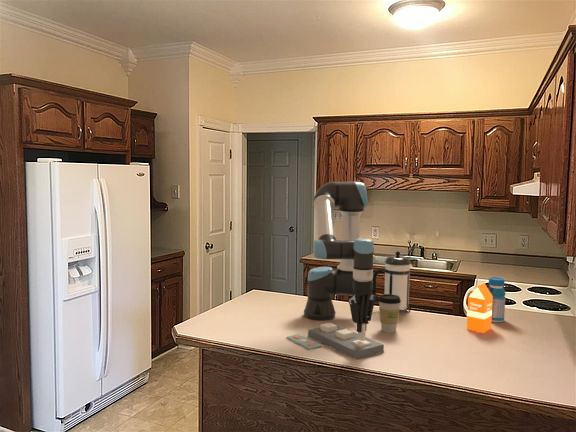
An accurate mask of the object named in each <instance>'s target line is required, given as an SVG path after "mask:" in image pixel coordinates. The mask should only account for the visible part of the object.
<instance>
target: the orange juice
mask: <svg viewBox="0 0 576 432" xmlns="http://www.w3.org/2000/svg"><path fill="white" fill-rule="evenodd" d="M488 288H489V287H487V285H486V283H485V282H484V283H481V284H480V285H476V287H475V289H474V290H472V292H471V293H470V295H469V296H468V297H467V309H466V310H467V311H466V330H469V331H473V332H478V333H482V334H484V333H486V332H487V331H489V330H491V329H492V321H491V318H492V297H493V296H492V295H491V293H490V291H489V290H488Z"/></svg>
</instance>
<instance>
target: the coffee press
mask: <svg viewBox="0 0 576 432" xmlns="http://www.w3.org/2000/svg"><path fill="white" fill-rule="evenodd" d="M394 253H395V255H390V256H387V257H386V258H385V260H384V266H385V267H384V268H379V269H377V270H375V271H373V279H372V281H373V289H372V290H371V292H372V295H374V296H376V297H377V298H376V300H375V301H378V299H379V297H380V296H377V276H378V275H379V274H381V273H384V294H392V295H397V296H399V297H400V300H401V302H400V305H399V311H402V310H404V311H405V312H406V313H407V314H409V313H410V312H411V309H410V307H409V303H410V300H409V298H410V275H411V268H413V264H412V263H411V261H410V260H411V259H409V258H408V256H403V255H401V252H400V251H396V252H394Z"/></svg>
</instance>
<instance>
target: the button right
mask: <svg viewBox="0 0 576 432" xmlns="http://www.w3.org/2000/svg"><path fill="white" fill-rule="evenodd" d="M352 344H354V345H356V346H358V347H360V348H362V347H366V346H370V345H371V343H370V342H368V341H361V340H355V341H352Z"/></svg>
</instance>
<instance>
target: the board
mask: <svg viewBox="0 0 576 432" xmlns="http://www.w3.org/2000/svg"><path fill="white" fill-rule="evenodd" d="M333 324H334V325H337V331H338V330H343V329H346V330H349V331H351V332H353V338H350V339H346V340H342V339H340V338H338V337H336V331H334V332H330V333H327V332H325V331H322V330H320V327H321V326H318V327H312V328H309V329H308V330H307V331H308V332H307V336H308V337H309V338H310V339H313V340H316V341H317V342H319V343H321V344H323V345H325V346H328V347H329V348H331V349H334V350H336V351H338V352H340V353H342V354H344V355H346V356H348V357H350V358H351V359H354V360H358V359H362V358H368V357H371V356H374V355H378V354H381V353H384V351H385V350H384V349H385V347H384V345H385V344H383V343H381V342H379V341H376V340H374V339H372V338H370V337H367V336H365V341H368V342H370V343H371V345H370V346H366V347H362V348H360V347H358V346H356V345H354V344H352V341H355V340H358V339H357V338H358V332H356V331H355V332H354V331H352V330H351V329H347V328H346V327H343V326H341V325H338V324H336V323H333Z"/></svg>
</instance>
